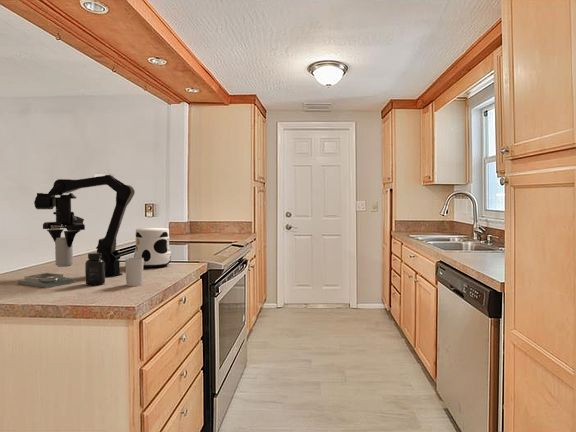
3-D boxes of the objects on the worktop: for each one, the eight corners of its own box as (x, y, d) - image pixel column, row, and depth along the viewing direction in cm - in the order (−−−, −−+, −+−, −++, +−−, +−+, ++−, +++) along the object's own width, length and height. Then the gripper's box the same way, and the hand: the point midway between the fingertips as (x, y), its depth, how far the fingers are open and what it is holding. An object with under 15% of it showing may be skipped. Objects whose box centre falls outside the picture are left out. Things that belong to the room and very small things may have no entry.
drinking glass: (125, 283, 165) (124, 257, 165) (143, 282, 167) (143, 257, 167) (125, 287, 159) (125, 260, 158) (144, 285, 161) (144, 259, 161)
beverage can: (67, 267, 176) (67, 238, 176) (52, 267, 176) (51, 238, 176) (75, 264, 182) (75, 236, 182) (60, 264, 183) (60, 236, 182)
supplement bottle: (109, 283, 166) (108, 252, 165) (95, 286, 159) (95, 254, 159) (94, 281, 168) (94, 251, 167) (81, 285, 161) (80, 253, 161)
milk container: (128, 265, 208) (127, 228, 207) (161, 262, 219) (161, 227, 219) (143, 270, 195) (142, 231, 194) (177, 266, 207) (177, 229, 206)
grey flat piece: (74, 282, 167) (74, 274, 167) (46, 288, 156) (46, 279, 156) (47, 278, 174) (47, 271, 174) (18, 284, 163) (18, 276, 163)
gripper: (95, 209, 182) (95, 246, 182) (65, 208, 190) (65, 243, 190) (72, 210, 172) (72, 248, 172) (41, 209, 179) (42, 246, 180)
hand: (64, 246), depth 179 cm, fingers closed on beverage can, 6 cm apart
